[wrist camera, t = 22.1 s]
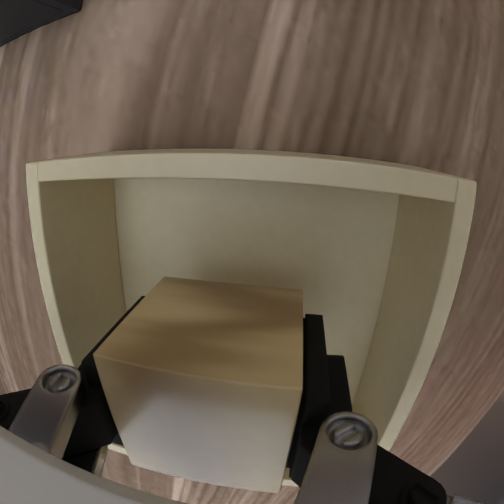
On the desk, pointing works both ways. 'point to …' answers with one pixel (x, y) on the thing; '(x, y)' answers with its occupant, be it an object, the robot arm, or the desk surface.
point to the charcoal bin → (31, 15)
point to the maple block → (208, 381)
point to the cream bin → (261, 250)
